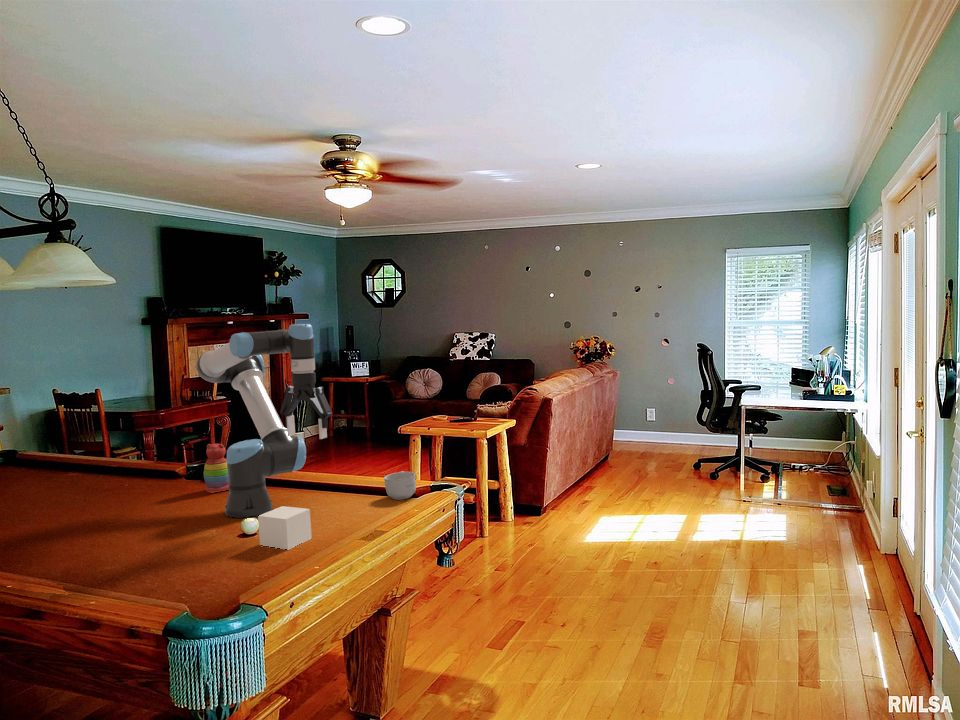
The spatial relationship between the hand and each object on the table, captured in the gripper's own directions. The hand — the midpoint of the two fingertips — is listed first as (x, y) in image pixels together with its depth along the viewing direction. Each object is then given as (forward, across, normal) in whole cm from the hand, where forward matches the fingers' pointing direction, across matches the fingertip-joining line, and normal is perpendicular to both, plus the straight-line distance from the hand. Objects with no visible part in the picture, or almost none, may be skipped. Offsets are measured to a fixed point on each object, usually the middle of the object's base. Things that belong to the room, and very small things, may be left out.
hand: (307, 436), depth 239 cm
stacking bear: (+26, -55, +10) cm, 62 cm away
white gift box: (+25, +14, -26) cm, 39 cm away
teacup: (+25, +17, +27) cm, 41 cm away
